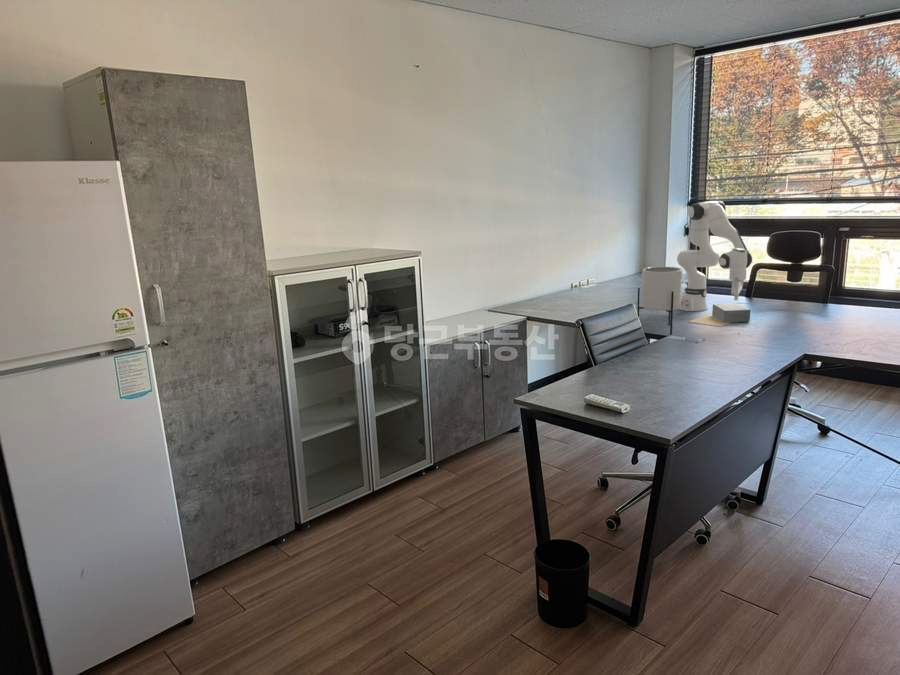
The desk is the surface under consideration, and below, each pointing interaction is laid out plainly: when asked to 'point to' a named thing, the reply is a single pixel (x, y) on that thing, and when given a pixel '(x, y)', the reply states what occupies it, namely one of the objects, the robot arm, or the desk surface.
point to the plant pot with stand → (661, 290)
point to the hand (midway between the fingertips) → (736, 299)
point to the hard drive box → (731, 312)
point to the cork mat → (709, 321)
